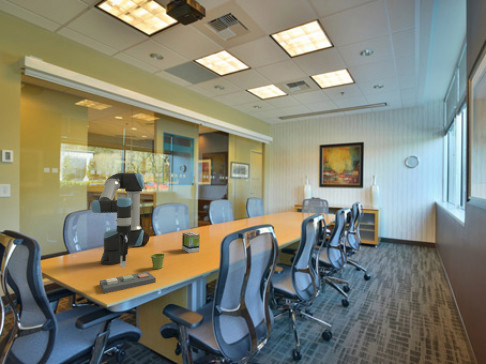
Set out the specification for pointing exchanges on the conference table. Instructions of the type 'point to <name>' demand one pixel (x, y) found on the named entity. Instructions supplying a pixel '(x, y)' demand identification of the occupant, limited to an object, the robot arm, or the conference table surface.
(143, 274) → the terracotta button
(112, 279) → the cream button
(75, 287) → the conference table surface
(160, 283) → the conference table surface
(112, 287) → the button board
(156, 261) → the plant pot
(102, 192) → the robot arm
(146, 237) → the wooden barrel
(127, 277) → the sage button
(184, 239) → the tea box
